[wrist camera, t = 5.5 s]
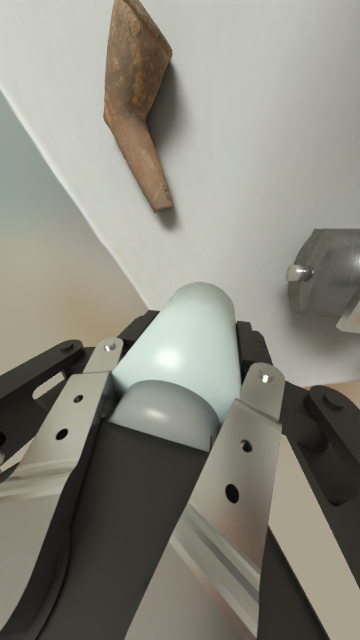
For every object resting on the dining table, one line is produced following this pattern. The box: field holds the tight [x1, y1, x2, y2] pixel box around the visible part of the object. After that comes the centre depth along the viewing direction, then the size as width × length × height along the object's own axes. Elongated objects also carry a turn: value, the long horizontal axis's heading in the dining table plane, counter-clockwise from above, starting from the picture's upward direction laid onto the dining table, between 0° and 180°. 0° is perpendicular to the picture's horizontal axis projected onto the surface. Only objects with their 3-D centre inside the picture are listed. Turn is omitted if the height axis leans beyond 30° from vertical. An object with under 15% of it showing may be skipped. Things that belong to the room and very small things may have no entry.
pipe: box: [103, 0, 174, 212], centre depth 19 cm, size 6×17×10 cm
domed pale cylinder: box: [108, 282, 242, 452], centre depth 9 cm, size 5×5×9 cm
